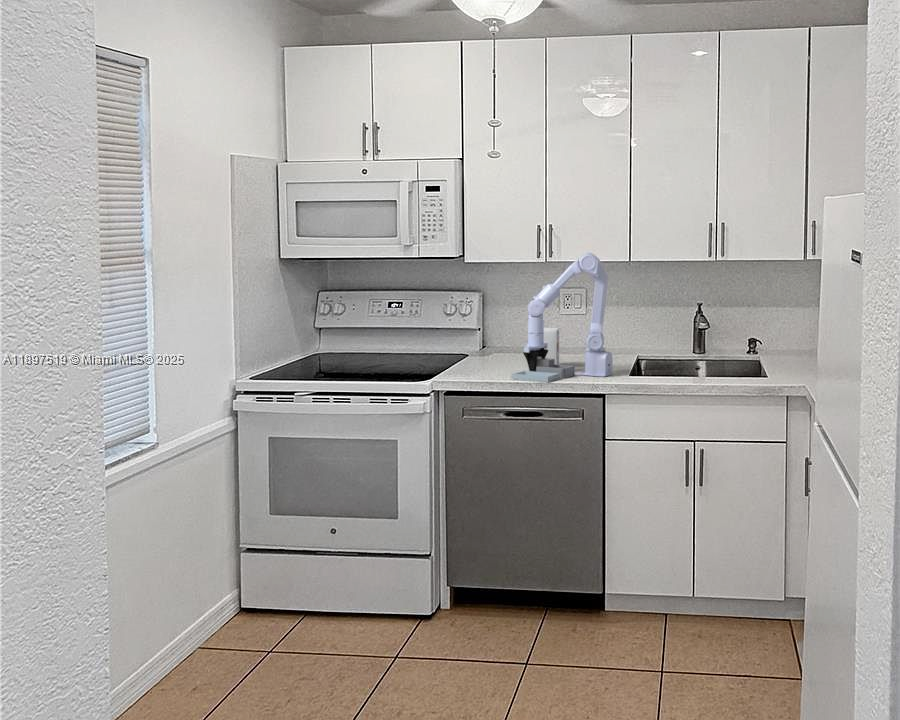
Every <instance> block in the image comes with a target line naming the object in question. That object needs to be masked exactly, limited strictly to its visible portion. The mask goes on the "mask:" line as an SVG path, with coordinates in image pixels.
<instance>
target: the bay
mask: <svg viewBox="0 0 900 720" xmlns="http://www.w3.org/2000/svg"><path fill="white" fill-rule="evenodd" d="M536 372H547V373H560V379H563V378H564V379H567V378H570V376H571V377H573V375H574V376H575V365H569V364H568V365H566V364H559V365H556V364H555V368H552V367H539V366H537V367H536ZM566 377H567V378H566Z"/></svg>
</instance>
